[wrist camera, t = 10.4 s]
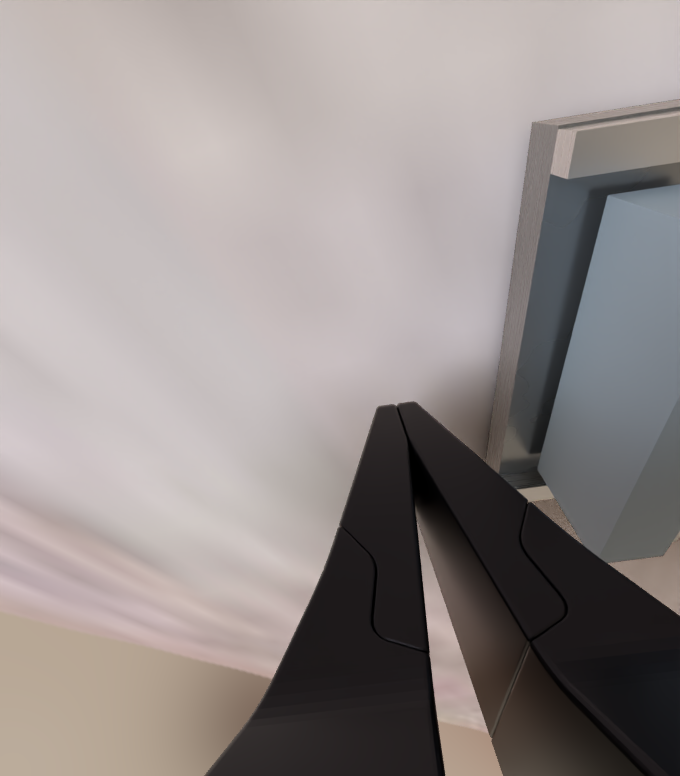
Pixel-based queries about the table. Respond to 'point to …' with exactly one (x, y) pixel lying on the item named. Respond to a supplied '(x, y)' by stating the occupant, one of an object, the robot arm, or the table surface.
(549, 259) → the base
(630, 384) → the block
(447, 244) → the table surface
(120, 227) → the table surface
